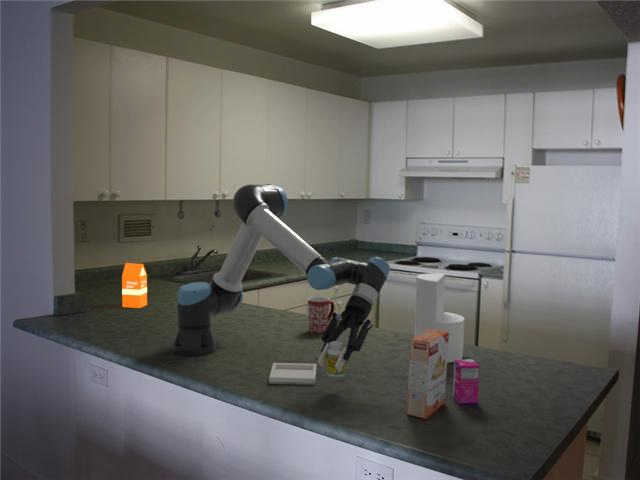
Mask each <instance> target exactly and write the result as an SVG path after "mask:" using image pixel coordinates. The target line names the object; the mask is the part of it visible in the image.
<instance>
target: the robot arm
mask: <svg viewBox="0 0 640 480" xmlns="http://www.w3.org/2000/svg"><path fill="white" fill-rule="evenodd" d="M287 196H288V195H287V194H286V192H285V190H284V189H283V187H281V186H279V185H278V184H277V185H276V184H270V183H265V184H246V185H243V186H242V187H240V188H238V190H236V192H235V193H234V196H233V198H232V199H233V200H232V208H233V211H234V213H235V215H236V216H237V218H238V219H239V220H240V221H241V226H240V228H239V230H238V232H237V234H236V236H235V238H234V240H233V243H232V245H231V247H230V249H229V251H228V253H227V256H226V257H225V259H224V262H223V264H222V266H221V268H220V270H219V272H215V273H214V274H213V275H212V278H211V280H210V282H204V281H197V282H190V283H187V284H183V285H181V286H180V287H179V288H178V291H177V298H176V302H177V303H176V304H177V305H176V306H177V330H176V332H175V336H174V340H173V343H172V352H174V353H175V354H177V355H181V356H201V355H207V354H211V353H214V352H215V351H216V349H217V342H216V339H215V335H214V333H213V330H212V318H213V317H216V316H219V315H223V314H229V313H231V312H233V311H234V310H236V309H238V308H239V307H240V305H241V304H242V303H243V299H244V294H243V293H244V291H243V287H244V286H243V283H242V280H243V278H244V277H245V274H246V272H247V270H248V268H249V266H250V264H251V262H252V260H253V258H254V255H255V253H256V251H257V250H258V247H259V245H260V243H261V241H262V239H263V237H264V238H265V239H266V240H267V241H268V243H271V244H272V246H273V247H275V248H276V249H277V250H278V251H280V252H281V254H283V255H284V257H286V258H287V259H289V260H290V261H291V262H292V263H293V264H294V265H295V266H297V268H299V270H301V271H302V272H303V273H304V274H305V275H306V279H307V282H308V284H309V286H310V287H311V288H312V289H314V290H316V291H323V290H329V289H331V288H333V287H337V286H340V285H344V284H351V285H354V286H355V287H354V288H353V290H352V292H351V296H349V299H348V301H347V302H346V304H345V308H344V309H343V311H342V312H341V313H337V312H335V311H334V312H333V315H332V317H331V319H330V321H329V322H328V326H327V328H326V330H325V332H324V333H322V335H321V337H320V339H321V340H322V342H323V346H322V348H321V350H320V353H321V355H320V356H319V358H318V360H317V362H318V364H319V365H320V366H321V367H322V368H324V366H325V364H326V363H327V352H328V350H329V349H330V342H331V341H338V340H337V339H339V338H340V336H341V335H342V334H343V333H344V332H345V331H347V330H348V329H350V331H349V336H348V341H347V344H346V346H344V347H343V350H342V352H341V354H340V356H339V358H338V360H337V362H336V364H335V367H336V369H337V370H338V371H341V369H342V367H343V365H344V363H345V364H346V361H347V362H348V361H349V360H350V358H351V355H352V354H353V353H354V352H360V351H361V349H362V346H363V344H364V342H365V340H366V338H367V336H368V333H369V331H370V330H371V329H372V328H373V323H372V321H371V319H370V318H369V315H370V313H371V311H372V310H373V306H374V305H375V303H376V301H377V298H378V296H379V295H380V293H381V290H382V289H383V286H384V285H385V283H386V281H387V280H388V276H389V274H390V271H391V267H390V264H389V263H388V262H387V261H386V260H385V259H384V258H381V257H379V256H374V257H370V258H369V260H368V261H367V262H363V261H362V262H361V261H357V260H352V259H348V258H345V257H337V256H335V257H332V258H331V259H330V260H329V261H328V260H327V259H326V258H324V257H323V255H321V254H320V253H319V252H318V251H316V250H315V249H314V248H313V247H312V246H311V245H310V244H309V243H307V242H306V241H304V239H302V238H301V237H300V236H299V235H298V234H297V233H296V232H294V231H293V230H292V229H291V228H290V227H289V226H287V225H286V224H285V223H284V222H283V221H282V220H281V219H280V217H282V216H284V215H285V214H286V212H287V210H288V208H289V207H288V206H289V200H288V197H287ZM368 318H369V319H368Z"/></svg>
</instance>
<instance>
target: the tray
mask: <svg viewBox="0 0 640 480" xmlns="http://www.w3.org/2000/svg"><path fill="white" fill-rule="evenodd" d="M270 370H271V371H270V373H269V377H268V384H270V385H274V384H275V385H303V386H304V385H305V386H309V385H310V386H316V379H317V364H316V363H300V362H299V363H297V362H296V363H292V362H291V363H290V362H289V363H287V362H273V363H272V366H271V369H270Z"/></svg>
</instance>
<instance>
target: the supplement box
mask: <svg viewBox="0 0 640 480" xmlns="http://www.w3.org/2000/svg"><path fill="white" fill-rule="evenodd" d="M452 382H453V386H452V387H453V388H452V389H453V390H452V398H453V399H454V400H455V401H456V402H457V404H458V405H459V406H461V405H463V406H468V405H469V406H471V405H474V406H475V405H476V406H477V405H479V392H480V390H479V389H480V388H479V385H480V364H478V363H477V362H476V361H475V360H474V359H473V358H471V359H470V358H469V359H466V358H465V359H461V360H454V362H453V381H452Z"/></svg>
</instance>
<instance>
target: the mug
mask: <svg viewBox="0 0 640 480" xmlns="http://www.w3.org/2000/svg"><path fill="white" fill-rule="evenodd" d="M307 308H308V330H309V333H311V334H314V335H315V334H317V335H321V334H322V335H323V333H324V332H325V330H326V328H327V326H328V325H329V323H330V321H331V319H332V315H333V313H334V312H335V303H334V301H332V300H331V298H329V297H326V296H311V297H308V298H307Z"/></svg>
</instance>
